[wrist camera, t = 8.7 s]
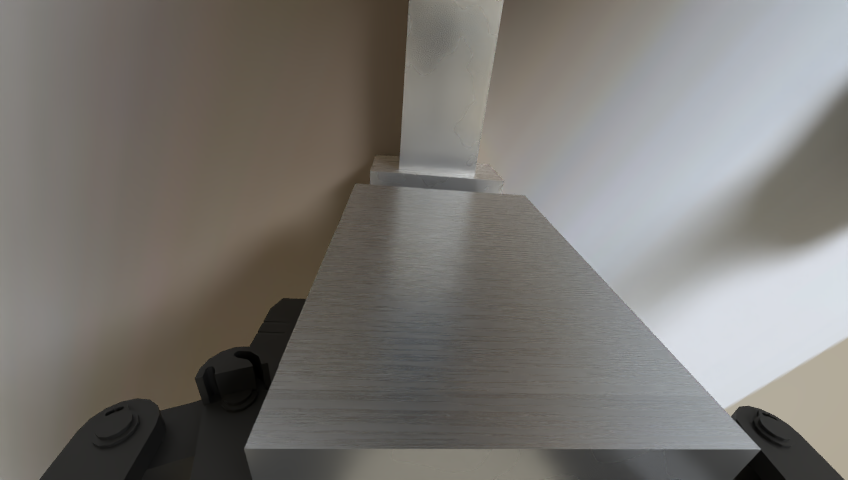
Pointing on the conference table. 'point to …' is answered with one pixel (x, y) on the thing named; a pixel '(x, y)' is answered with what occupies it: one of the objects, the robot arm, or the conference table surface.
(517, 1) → the conference table surface
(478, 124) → the blue-grey beige mallet
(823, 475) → the robot arm
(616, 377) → the grey textured cube
